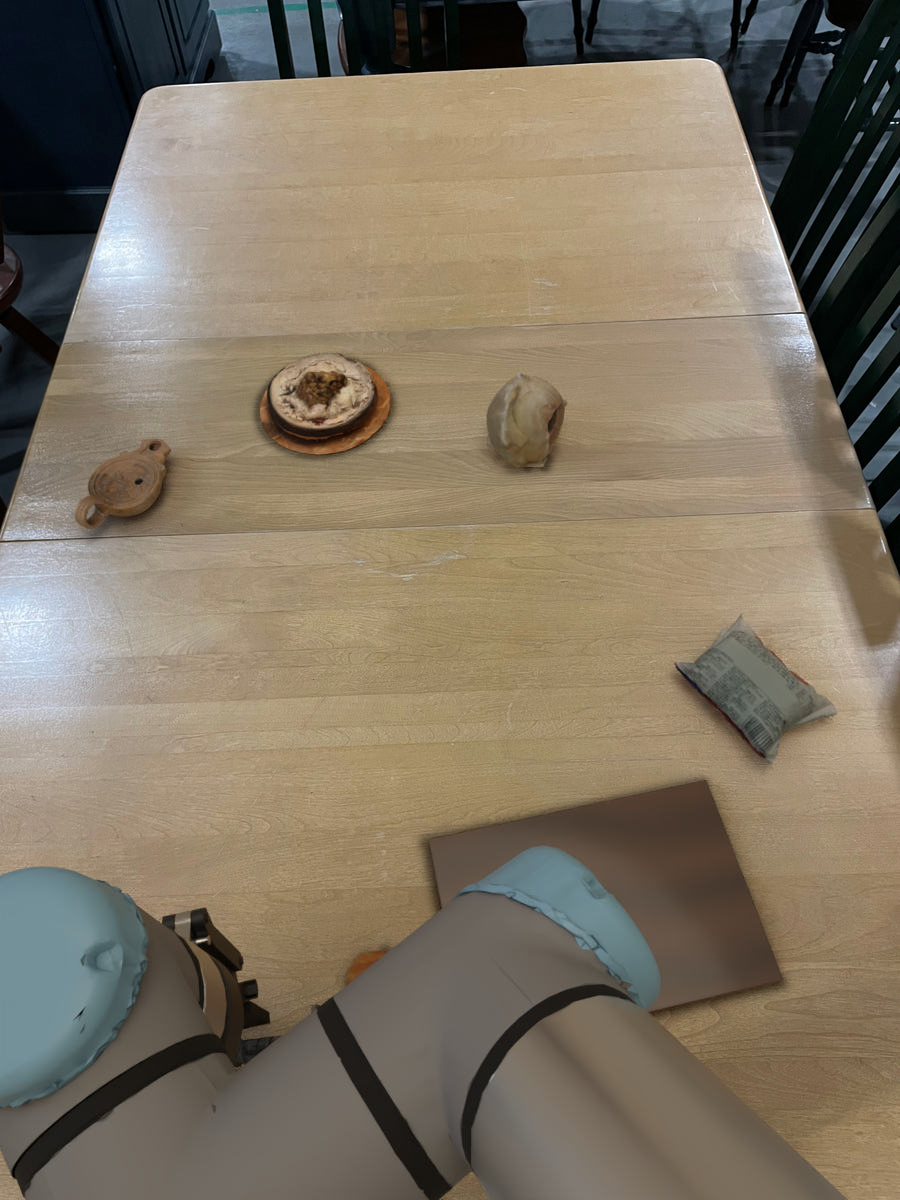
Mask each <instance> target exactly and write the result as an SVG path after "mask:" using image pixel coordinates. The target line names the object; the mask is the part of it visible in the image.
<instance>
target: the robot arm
mask: <svg viewBox="0 0 900 1200" xmlns="http://www.w3.org/2000/svg"><path fill="white" fill-rule="evenodd" d="M244 962H245V961H244V957H243V955H242V953H241V952H240V950H239V949H238V948H237V947H236V946H235V945H234V944H233V943H232V942H231V941H230V940H229V939H228V938H227V937H226V936H225V935H224V934H223V933H222V932H221V931H220V930H219V929H218V928H217V927H216V926H215V925H214V922H213V921H212V918H211V916H210V914H209V911H208V909H207V908H206V907H201V908H196V909H191V910H186V911H181V912H177V913H172V914H168V915H163V916H162V919H161V921H159V919H157V918H155V917H154V916H152V915H151V914H150V913H148V912H147V911H145V910H144V909H143V908H142V907H140V906H139V905H137V904H136V902H135V900H134V898H133V897H132V896H130V894H129V893H124V892H123V890H122V889H121V888H119V887H118V886H114V885H111V884H110V883H108V881H105V880H102V879H95V878H93V877H90V876H88V875H86V874H83V873H82V872H81V873H80V872H78V871H75V870H72V869H68V868H64V867H57V866H29V867H24V868H19V869H16V870H12V871H8V872H5V873H3V874H0V1152H1V1155H2V1158H3V1160H4V1162H5V1164H6V1166H7V1168H8V1171H9V1174H10V1176H11V1177H12V1179H13V1180H16V1182H17V1185H18V1187H19V1190H20V1192H21V1195H22V1198H23V1199H24V1200H441V1199H442V1198H443V1197H444V1196H445V1195H446V1194H448V1193H449V1192H451V1191H452V1189H453V1188H454V1187H455V1186H456V1185H458V1184H459V1183H460V1182H461V1181H462V1180H463V1179H464V1178H466V1177H467V1176H468V1175H469V1174H471V1173H473V1174H474V1176H475V1177H476V1179H477V1180H478V1182H479V1184H480V1186H481V1188H482V1191H483V1192H484V1194H485V1196H486V1197H487V1199H488V1200H849V1199H848V1197H846V1196H845V1195H844V1194H843V1193H842V1192H841V1191H840V1190H839V1189H837V1187H836V1186H834V1184H833V1183H831V1182H830V1181H829V1180H828V1179H827V1178H826V1177H825V1176H824V1175H823V1174H822V1173H821V1172H820V1171H819V1170H817V1168H815V1166H813V1165H812V1164H811V1163H810V1162H809V1161H808V1160H807V1159H805V1158H804V1156H803V1155H802V1154H800V1153H799V1152H798V1151H797V1150H796V1149H795V1148H794V1147H793V1146H792V1145H791V1144H790V1143H788V1142H787V1140H785V1139H784V1138H783V1137H782V1136H781V1135H780V1134H779V1132H777V1131H776V1130H775V1129H774V1128H773V1127H772V1126H771V1125H769V1123H767V1122H766V1120H764V1119H763V1118H762V1117H761V1116H760V1115H759V1114H758V1113H756V1111H754V1109H752V1108H751V1106H750V1105H748V1104H747V1103H746V1102H745V1101H744V1100H743V1099H742V1098H740V1096H739V1095H738V1094H736V1093H735V1091H733V1090H732V1089H731V1088H730V1087H729V1086H728V1085H727V1084H726V1083H725V1082H724V1081H723V1080H722V1079H720V1077H719V1076H717V1075H716V1074H715V1073H714V1072H713V1071H712V1070H711V1069H710V1068H709V1067H708V1066H707V1065H706V1064H704V1062H702V1061H701V1060H700V1058H698V1057H697V1056H696V1055H695V1054H694V1053H693V1052H692V1051H691V1050H689V1049H688V1047H686V1046H685V1044H683V1043H682V1042H681V1041H680V1040H679V1039H678V1038H677V1037H676V1036H675V1035H673V1033H671V1032H670V1031H669V1030H668V1029H667V1028H666V1027H665V1026H664V1025H663V1024H662V1023H661V1022H660V1021H658V1020H657V1018H655V1016H653V1015H652V1013H649V1012H648V1011H647V1010H648V1009H649V1008H650V1007H651V1006H652V1005H653V1004H654V1003H655V1001H656V1000H657V997H658V995H659V992H660V986H661V982H660V973H659V969H658V965H657V963H656V960H655V958H654V956H653V953H652V951H651V949H650V947H649V945H648V944H647V942H646V940H645V938H644V937H643V935H642V933H641V932H640V930H639V929H638V927H637V926H636V924H635V923H634V921H633V920H632V919H631V917H630V916H629V914H628V913H627V912H626V910H625V909H624V908H623V907H622V905H621V904H620V903H619V902H618V901H617V899H616V898H615V897H614V896H613V895H612V894H610V893H609V892H608V891H606V890H605V889H604V888H603V886H602V885H601V884H600V883H599V881H598V880H597V879H596V877H595V875H594V874H593V873H592V872H591V871H590V870H589V869H588V868H587V867H586V866H584V865H583V864H582V863H581V862H580V861H578V860H577V859H575V858H574V857H573V856H571V855H569V854H568V853H566V852H564V851H562V850H560V849H557V848H553V847H550V846H537V847H532V848H529V849H527V850H525V851H523V852H522V853H520V854H519V855H517V856H516V857H514V858H513V859H511V860H510V861H509V862H507V863H506V864H504V865H503V866H501V867H500V868H498V869H497V870H495V871H494V872H492V873H491V874H489V875H488V876H486V877H485V878H483V879H482V880H480V881H479V882H477V883H476V884H471V885H468V886H467V887H465V888H464V889H463V890H462V891H460V892H459V893H458V894H457V895H456V896H455V897H454V899H453V900H452V901H451V902H450V903H449V904H447V905H446V906H445V907H444V908H441V909H440V910H439V911H437V912H436V913H435V914H434V915H432V916H431V917H430V918H429V919H427V920H426V921H425V922H423V923H422V924H421V925H420V926H419V927H417V928H416V929H414V931H412V932H411V933H409V935H407V936H406V937H405V938H404V939H402V940H401V941H400V942H398V943H397V944H396V945H395V946H393V947H392V948H391V949H390V950H388V951H387V952H386V954H385V955H384V956H382V957H381V958H380V959H379V960H377V961H376V962H375V963H374V964H372V965H371V966H370V967H369V968H367V969H366V970H365V971H364V972H362V973H361V974H360V975H359V976H357V977H356V978H355V979H354V980H352V981H351V982H350V983H349V984H347V985H346V986H345V985H344V987H342V988H341V989H340V990H338V991H337V992H336V993H335V994H333V995H332V996H331V997H330V998H328V999H327V1000H326V1001H324V1002H323V1003H322V1004H320V1006H319V1007H318V1008H316V1009H315V1010H314V1011H313V1012H311V1011H310V1012H309V1014H308V1015H306V1016H305V1017H303V1018H302V1019H301V1020H300V1021H299V1022H297V1023H296V1024H294V1025H293V1026H292V1027H291V1028H289V1029H288V1030H287V1031H285V1032H284V1033H283V1034H281V1035H282V1036H281V1037H279V1038H278V1039H277V1040H276V1041H274V1042H273V1043H272V1044H270V1045H269V1046H268V1047H267V1048H265V1049H264V1050H263V1051H261V1052H260V1053H259V1054H258V1055H256V1056H255V1057H254V1058H252V1059H251V1060H250V1061H249V1062H247V1063H246V1064H243V1065H241V1066H240V1068H238V1069H237V1067H235V1055H236V1053H237V1051H238V1048H239V1045H240V1041H241V1039H243V1033H244V1030H248V1029H253V1028H257V1027H261V1026H265V1025H269V1024H271V1013H270V1011H268V1010H267V1009H265V1008H263V1007H262V1006H260V1005H258V1004H256V1002H253V1001H252V1000H257V999H258V998H259V986H258V984H259V983H258V981H257V979H256V978H253V979H248V980H243V981H239V980H238V979H239V978H238V974H237V972H241V971H243V965H244V964H245V963H244Z"/></svg>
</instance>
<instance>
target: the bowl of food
mask: <svg viewBox="0 0 900 1200" xmlns="http://www.w3.org/2000/svg"><path fill="white" fill-rule="evenodd" d="M344 354H345V353H344V352H341V353H339V352H326V353H324V352H323V353H315V354H311V355H307V356H305V357H302V358H300V359H298V360H295V361H293V362H291V364H288V365H285V367H283V368H282V369H280V370H279V372H277V373H276V374H275V375H273V377H272V379H271V380H270V382H269V384H268V386H267V389H266V390H265V392H264V394H263V397H262V399H261V402H260V408H259V416H260V421H261V424H262V427H263V429H264V431H265V433H266V434H267V435H268V436H269V437H270V438H271V439H272V440H273V441H274V442H275V443H277V444H278V445H280V446H282V447H284V448H286V449H288V450H290V451H293V452H297V453H302V454H307V455H316V456H317V455H329V454H337V453H340V452H346V451H348V450H350V449H353V448H355V447H357V446H360V445H361V444H364V443H365V442H366V441H367V440H369V439H370V438H371V437H372V436H373V435H374V434H375V433H376V432H377V431H378V430H379V429H380V428H381V427H382V426H383V424H384V422H385V421H386V420H387V418H388V415H389V413H390V409H391V393H390V390H389V387H388V385H387V384H386V382H385V380H384V379H383V377H381V375H380V374H378V373H377V371H375V370H373V369H372V368H370V367H368V366H367V365H365V364H363V363H361V362H360V361H359V360H358V359H353V358H350V357H349V356H347V357H345V355H344Z"/></svg>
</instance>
